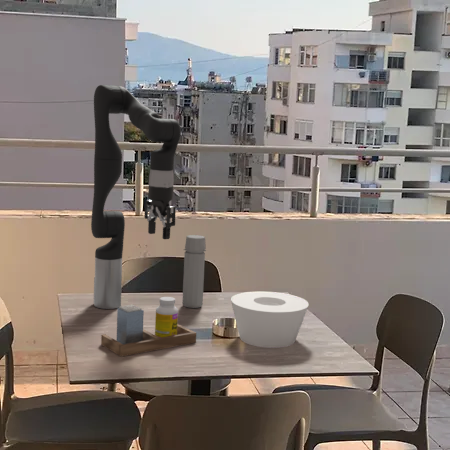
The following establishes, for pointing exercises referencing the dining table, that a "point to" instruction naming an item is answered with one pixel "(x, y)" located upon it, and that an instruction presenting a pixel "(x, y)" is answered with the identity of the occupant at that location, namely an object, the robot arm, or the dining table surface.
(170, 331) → the supplement bottle
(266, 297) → the white tapered pot
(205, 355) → the dining table surface
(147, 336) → the caddy
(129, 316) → the slate tin
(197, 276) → the water bottle
